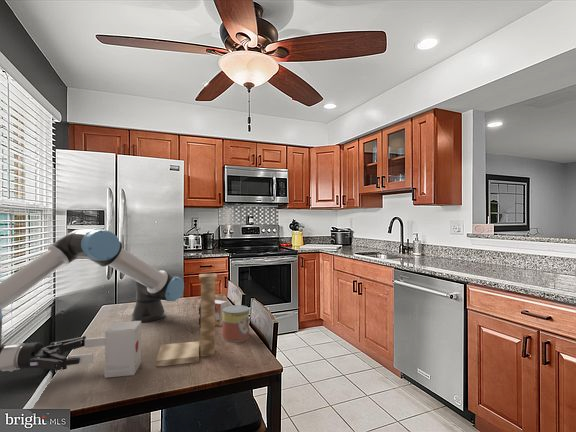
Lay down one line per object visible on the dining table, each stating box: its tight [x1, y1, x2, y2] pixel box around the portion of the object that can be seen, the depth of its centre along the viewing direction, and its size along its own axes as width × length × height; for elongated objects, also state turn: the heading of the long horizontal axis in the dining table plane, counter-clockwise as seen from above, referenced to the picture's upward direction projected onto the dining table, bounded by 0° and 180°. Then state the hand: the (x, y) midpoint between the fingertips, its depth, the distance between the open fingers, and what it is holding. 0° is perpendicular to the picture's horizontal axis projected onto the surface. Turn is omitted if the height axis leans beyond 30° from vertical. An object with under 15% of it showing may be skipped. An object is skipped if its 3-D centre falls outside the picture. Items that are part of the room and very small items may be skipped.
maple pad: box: [155, 340, 200, 368], centre depth 116 cm, size 14×14×2 cm
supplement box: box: [104, 320, 142, 378], centre depth 104 cm, size 9×9×15 cm
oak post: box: [198, 272, 218, 357], centre depth 118 cm, size 6×6×29 cm
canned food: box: [221, 304, 250, 343], centre depth 134 cm, size 11×11×12 cm
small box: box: [215, 299, 228, 327], centre depth 151 cm, size 8×6×10 cm
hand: (100, 349), depth 102 cm, fingers open, 13 cm apart
